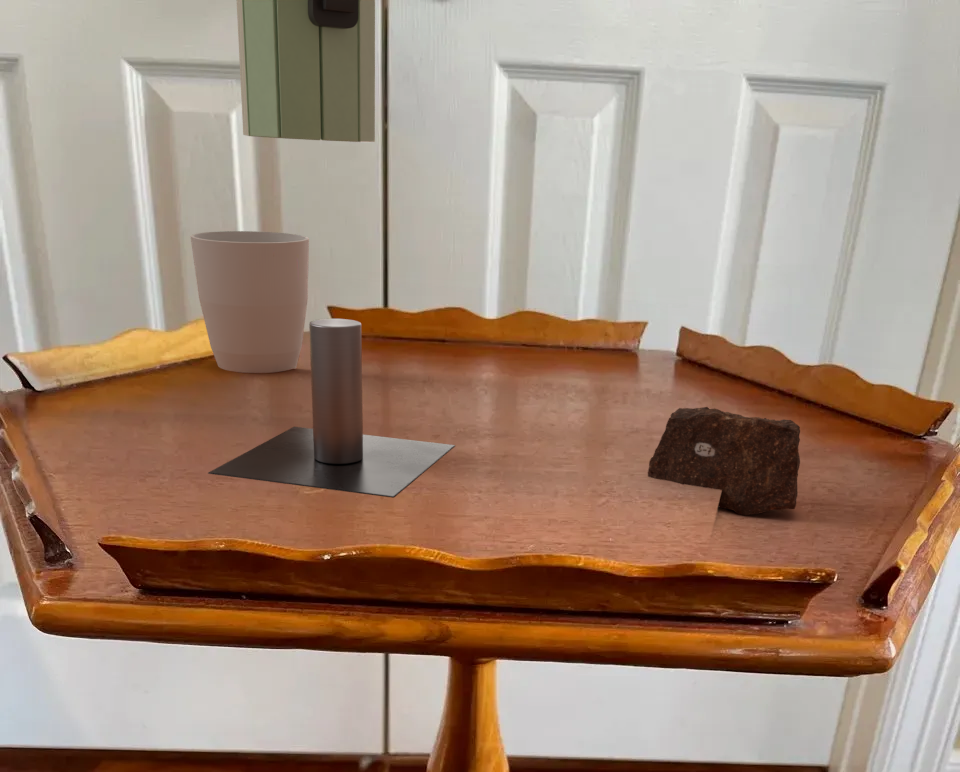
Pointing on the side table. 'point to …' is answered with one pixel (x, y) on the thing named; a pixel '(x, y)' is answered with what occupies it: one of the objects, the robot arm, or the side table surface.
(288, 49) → the tumbler
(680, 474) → the stone
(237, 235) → the cup
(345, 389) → the holder
